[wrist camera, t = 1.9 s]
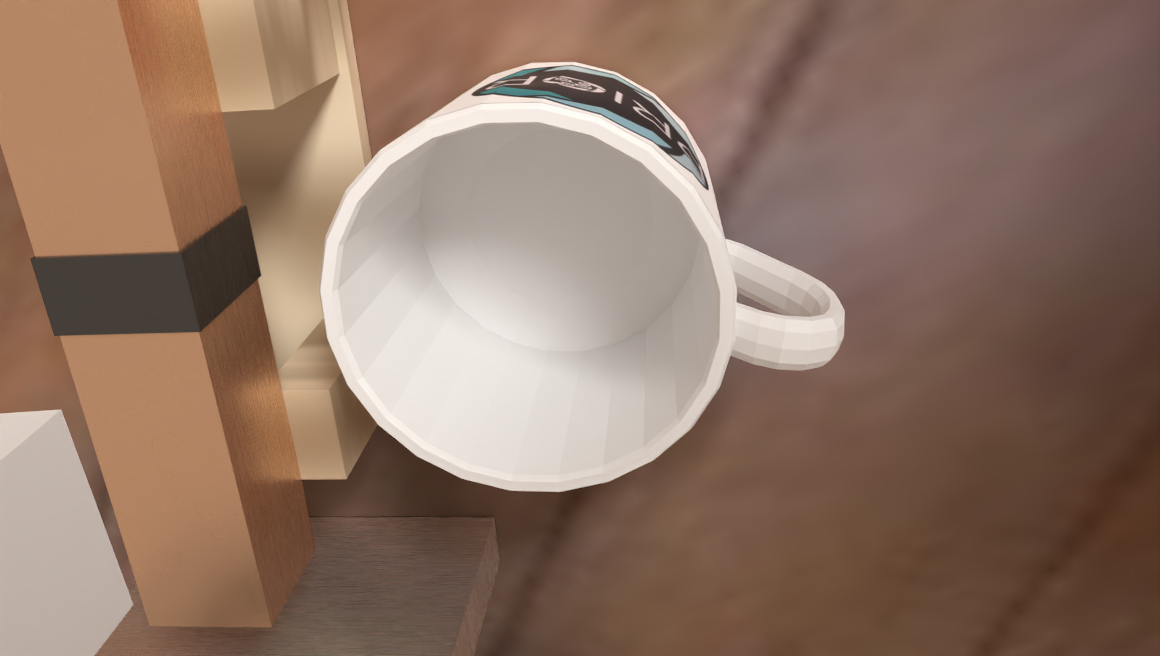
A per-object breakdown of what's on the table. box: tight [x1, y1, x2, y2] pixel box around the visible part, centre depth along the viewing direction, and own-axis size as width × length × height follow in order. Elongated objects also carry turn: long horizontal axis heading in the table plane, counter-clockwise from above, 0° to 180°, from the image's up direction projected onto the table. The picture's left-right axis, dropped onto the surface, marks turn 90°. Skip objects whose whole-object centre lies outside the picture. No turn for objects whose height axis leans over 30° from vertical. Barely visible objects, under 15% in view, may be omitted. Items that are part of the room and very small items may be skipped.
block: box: [0, 0, 316, 628], centre depth 25 cm, size 24×4×4 cm, turn 4°
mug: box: [319, 62, 845, 492], centre depth 28 cm, size 13×10×8 cm
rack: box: [198, 0, 378, 480], centre depth 30 cm, size 17×7×6 cm, turn 4°
